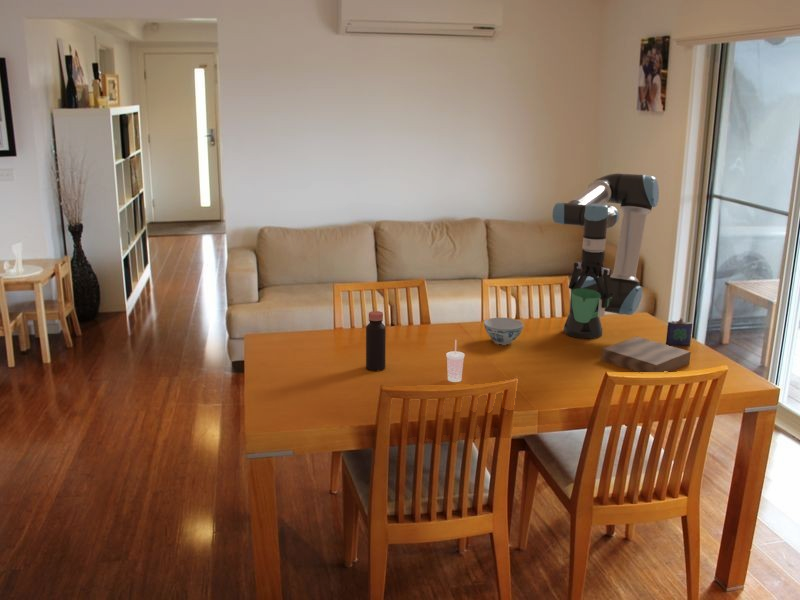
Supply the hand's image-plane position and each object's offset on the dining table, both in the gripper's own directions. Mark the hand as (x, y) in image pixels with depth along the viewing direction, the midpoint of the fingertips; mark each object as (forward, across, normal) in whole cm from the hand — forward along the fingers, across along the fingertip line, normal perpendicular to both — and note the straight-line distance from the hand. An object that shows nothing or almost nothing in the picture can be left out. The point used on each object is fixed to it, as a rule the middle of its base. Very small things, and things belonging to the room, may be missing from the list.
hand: (588, 312), depth 265 cm
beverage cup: (+19, -18, -46) cm, 53 cm away
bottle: (+19, -43, -61) cm, 77 cm away
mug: (+3, 0, 0) cm, 3 cm away
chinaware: (+20, -36, -4) cm, 41 cm away
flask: (+20, +8, +47) cm, 52 cm away
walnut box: (+20, +11, +20) cm, 31 cm away
